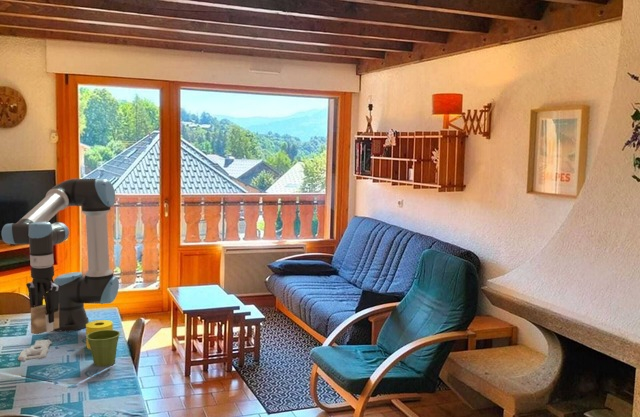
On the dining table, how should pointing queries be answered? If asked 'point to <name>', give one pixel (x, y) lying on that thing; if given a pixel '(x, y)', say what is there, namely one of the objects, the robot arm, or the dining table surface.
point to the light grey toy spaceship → (36, 350)
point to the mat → (36, 378)
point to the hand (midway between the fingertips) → (45, 330)
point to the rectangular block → (41, 319)
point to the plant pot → (103, 346)
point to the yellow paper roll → (98, 327)
